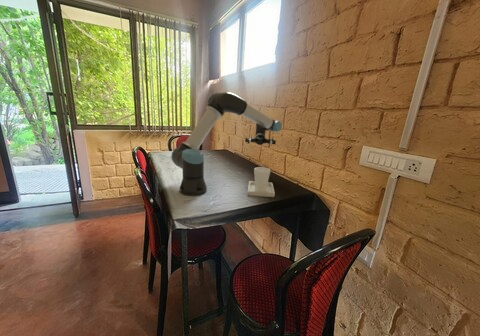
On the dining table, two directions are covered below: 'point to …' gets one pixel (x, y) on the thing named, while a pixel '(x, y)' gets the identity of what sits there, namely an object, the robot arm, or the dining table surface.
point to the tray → (253, 192)
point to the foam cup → (261, 178)
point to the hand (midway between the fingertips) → (260, 142)
